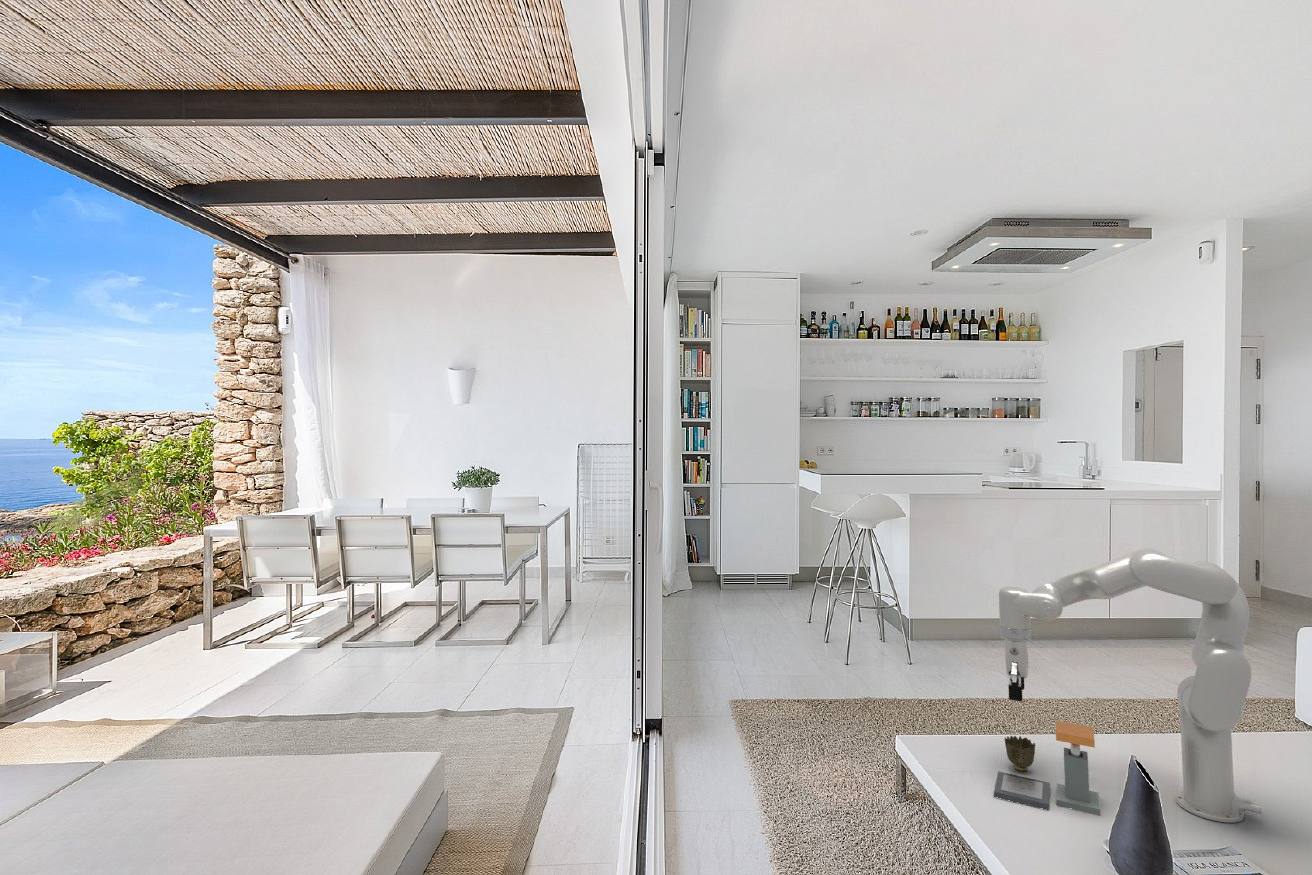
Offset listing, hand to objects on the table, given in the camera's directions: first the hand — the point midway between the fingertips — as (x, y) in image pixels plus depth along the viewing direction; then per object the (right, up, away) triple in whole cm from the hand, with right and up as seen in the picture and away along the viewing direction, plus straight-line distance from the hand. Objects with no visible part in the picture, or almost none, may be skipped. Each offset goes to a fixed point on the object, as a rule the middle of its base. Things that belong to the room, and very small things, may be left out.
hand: (1016, 694), depth 177 cm
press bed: (-5, -21, -12) cm, 25 cm away
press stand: (+6, -20, -17) cm, 27 cm away
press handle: (+6, -14, -17) cm, 23 cm away
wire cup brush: (+1, -21, -1) cm, 21 cm away
